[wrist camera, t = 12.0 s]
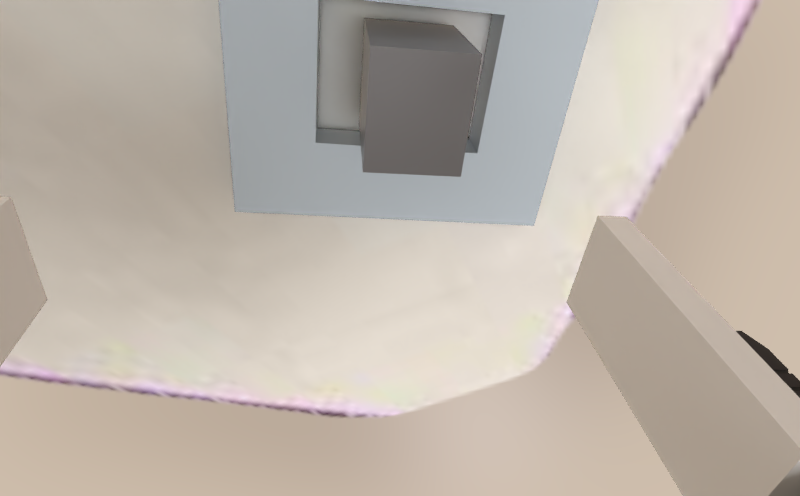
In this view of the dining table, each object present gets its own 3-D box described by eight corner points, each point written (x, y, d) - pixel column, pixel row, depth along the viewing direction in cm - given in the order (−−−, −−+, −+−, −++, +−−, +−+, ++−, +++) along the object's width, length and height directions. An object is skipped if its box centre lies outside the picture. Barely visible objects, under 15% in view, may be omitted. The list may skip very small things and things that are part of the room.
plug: (358, 115, 32) (362, 172, 25) (363, 13, 29) (370, 45, 22) (435, 120, 33) (460, 177, 26) (449, 21, 30) (481, 54, 23)
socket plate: (241, 193, 35) (234, 211, 33) (219, -135, 25) (207, -140, 23) (523, 208, 37) (533, 225, 35) (601, -83, 28) (622, -83, 26)
